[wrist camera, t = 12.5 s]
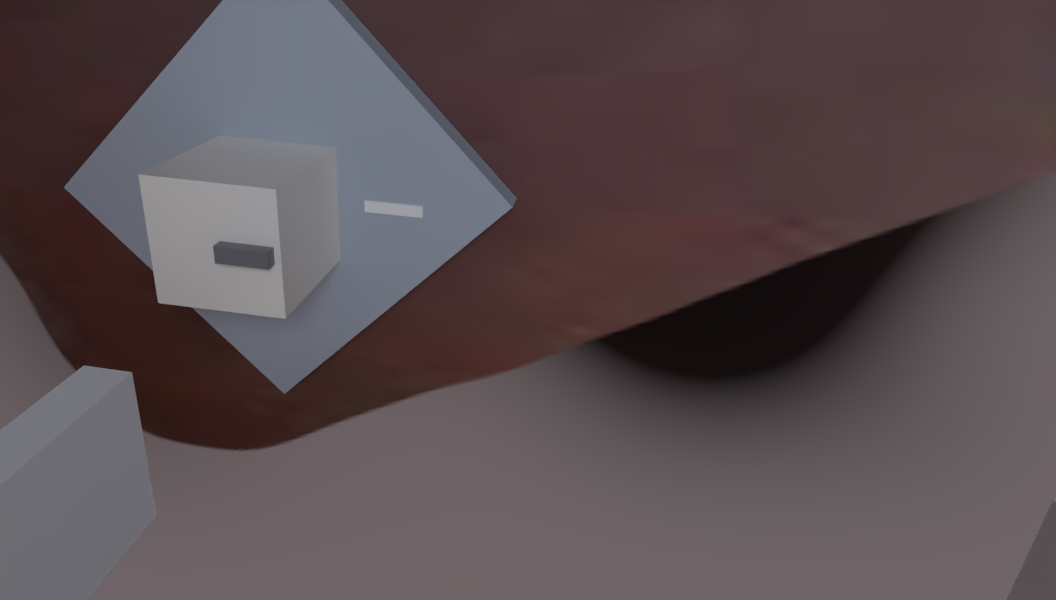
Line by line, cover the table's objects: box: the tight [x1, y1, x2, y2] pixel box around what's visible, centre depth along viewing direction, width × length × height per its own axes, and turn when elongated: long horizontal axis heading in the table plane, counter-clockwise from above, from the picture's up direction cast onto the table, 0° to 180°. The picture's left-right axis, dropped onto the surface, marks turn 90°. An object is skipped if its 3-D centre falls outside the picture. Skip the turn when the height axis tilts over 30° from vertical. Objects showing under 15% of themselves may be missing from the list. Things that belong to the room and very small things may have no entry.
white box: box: [138, 136, 341, 319], centre depth 36 cm, size 6×6×8 cm
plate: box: [64, 0, 517, 394], centre depth 38 cm, size 16×18×7 cm
